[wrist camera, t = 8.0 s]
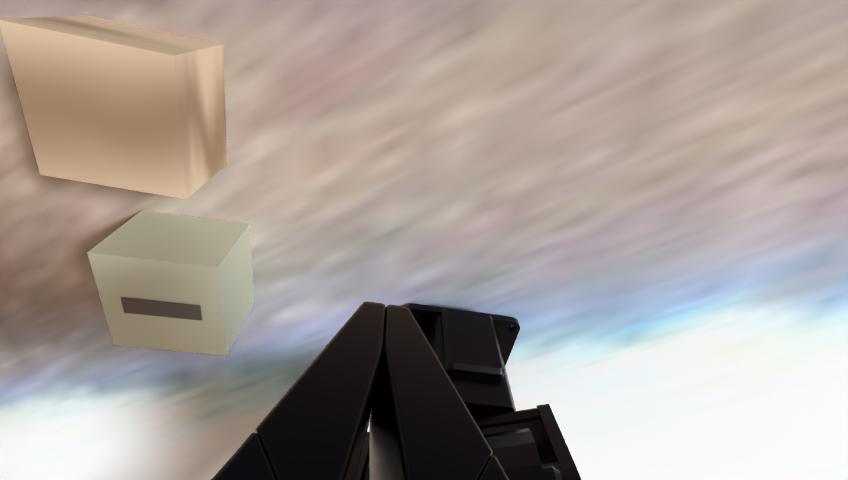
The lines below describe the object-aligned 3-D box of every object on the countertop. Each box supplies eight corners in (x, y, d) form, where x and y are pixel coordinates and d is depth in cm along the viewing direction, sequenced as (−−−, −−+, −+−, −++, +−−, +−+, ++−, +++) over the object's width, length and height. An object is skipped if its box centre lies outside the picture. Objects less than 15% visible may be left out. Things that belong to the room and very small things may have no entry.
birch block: (228, 162, 19) (186, 199, 15) (110, 141, 18) (39, 174, 15) (224, 44, 16) (174, 55, 13) (88, 15, 16) (-2, 19, 12)
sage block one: (255, 302, 23) (226, 357, 19) (159, 291, 22) (111, 346, 19) (250, 222, 20) (216, 268, 17) (143, 208, 20) (85, 253, 16)
